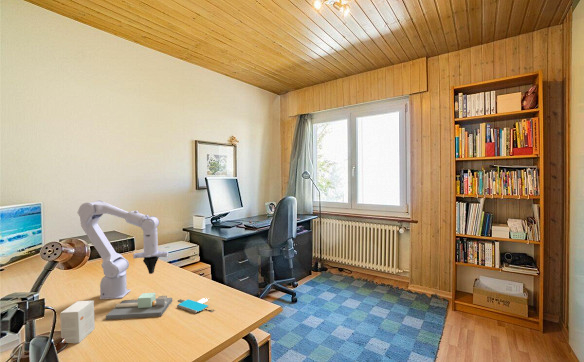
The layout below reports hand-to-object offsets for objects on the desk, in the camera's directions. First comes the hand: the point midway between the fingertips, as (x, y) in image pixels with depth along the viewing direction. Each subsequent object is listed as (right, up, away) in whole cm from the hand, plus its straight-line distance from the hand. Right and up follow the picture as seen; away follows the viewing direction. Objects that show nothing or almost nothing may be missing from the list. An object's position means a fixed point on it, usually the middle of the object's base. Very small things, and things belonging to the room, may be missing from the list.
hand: (151, 272), depth 121 cm
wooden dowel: (+4, -9, -14) cm, 17 cm away
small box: (-8, -11, -32) cm, 34 cm away
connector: (+12, -8, -14) cm, 20 cm away
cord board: (+4, -10, -14) cm, 18 cm away
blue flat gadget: (+25, -10, -11) cm, 29 cm away
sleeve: (+6, -8, -14) cm, 17 cm away
